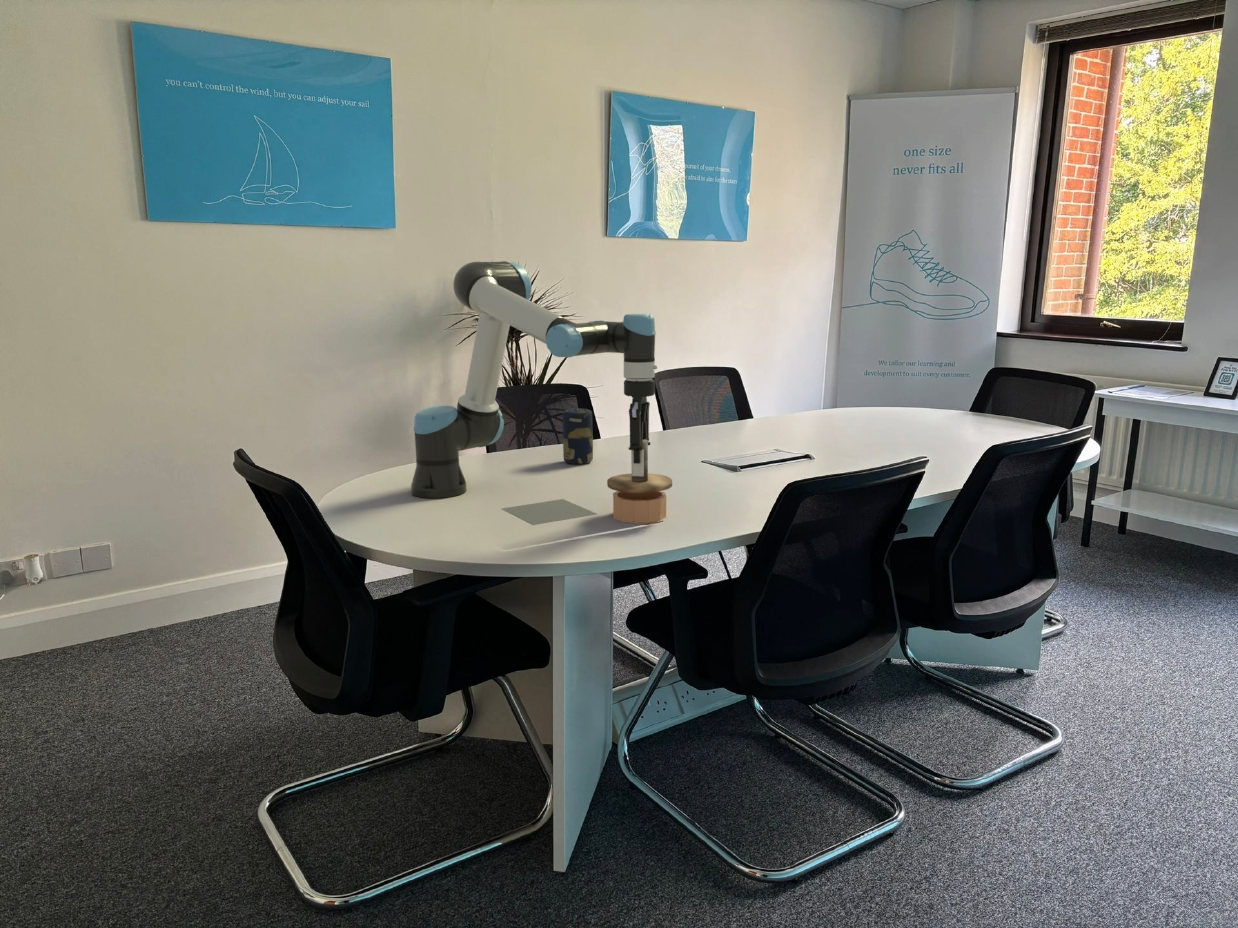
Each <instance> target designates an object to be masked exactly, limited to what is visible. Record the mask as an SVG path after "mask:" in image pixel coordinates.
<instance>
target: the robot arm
mask: <svg viewBox="0 0 1238 928" xmlns="http://www.w3.org/2000/svg"><path fill="white" fill-rule="evenodd" d="M452 284H453V292H454V294H455V297H456V299H457V300H458V302H459V303H460V304H462V305H463V306H464V307H466V308H468V309H469V310H471V311H473V312H476V313H478V314H479V315H478V316H479V317H478V319H477V320H478V321H477V325H476V332H475V338H474V343H473V348H472V353H471V358H470V364H469V368H468V369H469V371H468V374H467V375H468V376H467V381H466V385H465V392H464V393H463V394H462V395H460V396H459V397H458V399H457V404H456V405H457V406H456V407H455V406H453V405H438V406H432V407H427V408H423V409H421V410H419V411H418V412H417V413H416V414H415V416H414V423H413V425H414V426H413V431H414V440H415V441H414V445H415V459H416V462H415V463H416V464H415V465H416V467H415V470H414V474H413V477H412V482H411V485H410V486H411V487H410V489H411V495H413V496H415V497H418V498H425V499H440V498H441V499H443V498H451V497H456V496H459V495H463V494H465V493H466V492H467V490H468V489H467V481H466V478H465V476H464V474H463V471H462V468H461V464H460V457H459V456H460V453H459V452H460V451H466V450H470V449H471V450H472V449H476V448H484V447H486V446H489V445H492V444H494V443H496V441H498V440H499V439H500V437H501V436H502V433H503V430H504V426H505V425H504V422H505V421H504V418H503V414H502V411H501V409H500V406H499V404H498V403H497V401H496V397H497V392H498V391H497V390H498V385H499V381H500V375H501V372H502V366H503V360H504V356H505V350H506V347H507V346H506V345H507V341H508V336H509V332H510V327H513V328H514V329H517V330H519V331H521V332H522V333H524V334H526V335H528V336H530V337H532V338H534V339H535V340H538V341H540V342H541V343H543V344H545V345H546V348H547V349H548V350H549V352H550V354H552V355H553V356H554V357H558V358H566V359H567V358H573V357H579V356H585V355H594V354H596V355H597V354H604V353H611V354H612V353H613V354H614V353H615V354H623V378H625V379H624V381H623V394H624V395H625V396H626V397H631V398H632V400H631V403H630V405H629V409H628V415H629V447H627V448H628V450H629V451H631V450H632V458H631V474H632V476H644V467H643V450H642V449H643V447H642V442H643V439H646V440H648V446H651V442H649V440H650V401H648V400H647V397H652V396H654V395H655V394H656V382H655V379H654V378H655V376H656V375H655V374H656V370H657V369H658V365H656V364H655V361H656V360H655V359H656V358H655V351H656V334H657V332H656V325H655V324H656V323H655V318H654V315H652V314H651V313H628V314H624V316H623V320H622V321H605V320H602V319H601V320H593V321H588V322H581V323H576V322H574V321H571V320H569V319H567V318H565V317H563V316H561V315H559V314H557V313H555V312H553V311H551V310H549V309H547V308H545V307H543V306H541V305H540V304H537V303H535V302H533V301H531V300H530V298H531V294H532V280H531V277H530V276H529V275H528V272H527V270H526V269H525V268H524V267H523V265H521V264H519V263H516V262H513V261H512V262H510V261H506V260H503V261H471V262H468V263H466V264H464V265H463V266H462V267H461V268H459V269H458V270H457V272H456V274H455V276H454V278H453V283H452Z"/></svg>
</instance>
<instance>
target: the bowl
mask: <svg viewBox="0 0 1238 928" xmlns="http://www.w3.org/2000/svg"><path fill="white" fill-rule="evenodd" d="M612 506H613V507H612V515H613V519H615V520H618V521H620V522H625V523H630V524H631V523H632V524H642V526H650V525H655V524H656V525H657V524H660V523H662V522H663V520H664V519H666V518H667V493H666V492H665V491H664V490H663V491H658V492H649V493H629V492H621V491H616V490H615V491H614V492H613V493H612Z"/></svg>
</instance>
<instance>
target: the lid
mask: <svg viewBox="0 0 1238 928" xmlns="http://www.w3.org/2000/svg"><path fill="white" fill-rule="evenodd" d="M648 442H649V441H648V440H646V439H643V442H642V447H643V449H642V450H643V467H644V476H632V473H624V474H623V473H622V474H618V475H614V476H611V477H609V478H608V479H607V482H606V483H607V485H606V486H607V487H608V488H609V489H611V490H613V491H615V492H616V491H621V492H629V493H649V492H658V491H663V492H664V491H666V490H669V489H670V488H672V486H673V479H672V478H671V477H669V476H667V475H662V474H657V473H649V472H648V471H649V467H648V466H649V460H648V459H649V453H648V452H649V450H648V449H649V445H648ZM630 451H631V453H630V454H631V459H632V450H630Z"/></svg>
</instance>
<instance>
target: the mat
mask: <svg viewBox="0 0 1238 928" xmlns="http://www.w3.org/2000/svg"><path fill="white" fill-rule="evenodd" d="M501 510H502V511H505V512H507V513H509V514H511V515H512V516H515V517H517V518H518V519H520V520H522V521H524V522H526V523H528V524H530V525H532V526H536V525H541V524H547V523H552V522H559V521H565V520H571V519H578V518H582V517H589V516H595V515H598V513H597V512H593V511H592V510H590V509H587V508H585V507H583V506H581V505H577V503H576V504H575V503H573V502H571V501H569V500H566V499H565V498H561V499H555V500H549V501H541V502H536V503H535V502H534V503H529V504H522V505H516V506H515V505H514V506H510V507H509V506H508V507H504V508H501Z"/></svg>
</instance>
